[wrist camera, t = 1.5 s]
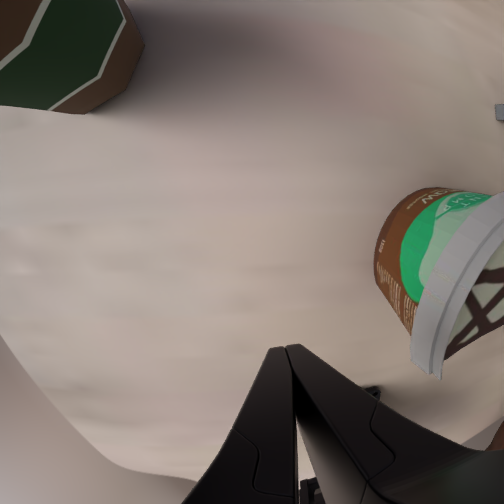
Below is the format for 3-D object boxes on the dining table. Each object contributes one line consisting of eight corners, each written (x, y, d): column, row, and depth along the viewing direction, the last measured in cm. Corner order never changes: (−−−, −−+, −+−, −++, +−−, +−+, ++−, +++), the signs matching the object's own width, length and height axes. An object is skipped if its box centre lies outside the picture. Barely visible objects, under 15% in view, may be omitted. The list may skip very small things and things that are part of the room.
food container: (474, 148, 18) (582, 166, 9) (487, 225, 20) (582, 269, 11) (329, 208, 19) (414, 266, 10) (356, 292, 21) (430, 386, 12)
